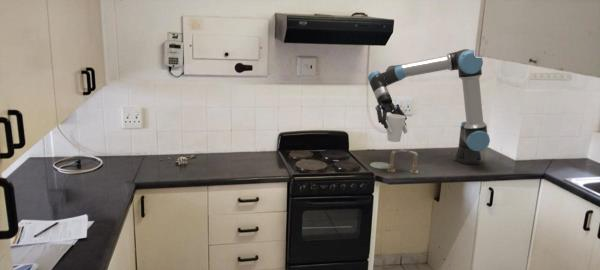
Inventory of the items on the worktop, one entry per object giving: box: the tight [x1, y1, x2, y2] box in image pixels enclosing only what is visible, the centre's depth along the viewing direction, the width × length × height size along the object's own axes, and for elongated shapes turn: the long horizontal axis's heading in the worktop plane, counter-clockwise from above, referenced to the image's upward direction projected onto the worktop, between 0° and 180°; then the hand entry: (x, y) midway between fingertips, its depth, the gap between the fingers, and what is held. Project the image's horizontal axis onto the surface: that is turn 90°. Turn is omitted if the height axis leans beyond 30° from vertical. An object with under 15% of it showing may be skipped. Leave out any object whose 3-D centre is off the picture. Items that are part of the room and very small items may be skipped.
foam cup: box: [386, 113, 406, 143], centre depth 255 cm, size 10×9×13 cm
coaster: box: [369, 161, 390, 170], centre depth 268 cm, size 11×11×1 cm
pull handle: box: [386, 148, 419, 174], centre depth 259 cm, size 16×7×11 cm, turn 86°
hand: (398, 132), depth 253 cm, fingers closed on foam cup, 9 cm apart
